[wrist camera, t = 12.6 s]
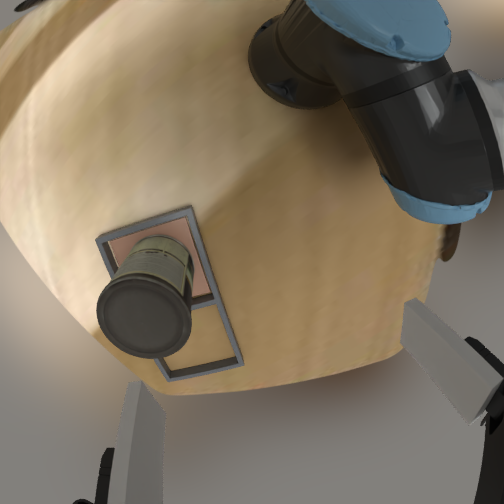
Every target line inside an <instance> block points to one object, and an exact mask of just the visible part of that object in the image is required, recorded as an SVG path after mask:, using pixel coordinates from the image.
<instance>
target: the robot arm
mask: <svg viewBox="0 0 504 504" xmlns="http://www.w3.org/2000/svg"><path fill="white" fill-rule="evenodd" d="M446 25H448V19H447V17H446V15H445V12H444V11H443V9H442V7H441V5H440V4H439V2H438V1H437V0H291V1H290V3H289V4H288V6H287V8H286V9H285V11H284V12H283V14H280V15H278V16H276V17H274V18H271V19H270V20H268V21H267V22H265V23H264V24H263V25H262V26H261V27H260V28H259V29H258V30H257V32H256V33H255V35H254V37H253V39H252V41H251V44H250V47H249V52H248V61H249V66H250V70H251V73H252V75H253V77H254V79H255V80H256V82H257V83H258V85H259V86H260V87H261V88H262V89H263V91H265V92H266V93H267V94H268V95H269V96H270V97H272V98H273V99H275V100H276V101H278V102H280V103H282V104H284V105H287V106H290V107H293V108H298V109H317V108H322V107H325V106H328V105H331V104H333V103H335V102H337V101H338V100H340V99H341V98H343V100H344V101H345V103H346V105H347V106H348V109H349V110H350V112H351V114H352V115H353V117H354V119H355V121H356V123H357V124H358V126H359V128H360V130H361V132H362V133H363V135H364V137H365V139H366V141H367V143H368V145H369V147H370V149H371V151H372V154H373V156H374V158H375V160H376V162H377V164H378V166H379V170H380V174H381V177H382V178H383V180H384V181H385V183H386V184H387V185H388V186H389V188H390V191H391V193H392V195H393V197H394V199H395V201H396V202H397V204H398V205H399V206H400V208H401V209H402V210H404V211H406V212H407V213H408V214H409V215H411V216H412V217H414V218H416V219H419V220H421V221H425V222H429V223H434V224H455V223H461V222H465V221H468V220H471V219H473V218H474V217H475V215H476V213H482V212H483V211H484V210H485V209H486V208H487V207H488V205H489V202H490V199H491V195H492V191H497V190H503V189H504V78H502V79H497V80H492V81H490V80H486V79H485V78H483V77H482V76H480V75H478V74H477V73H475V72H473V71H472V70H463V71H459V72H455V73H453V72H452V70H451V68H450V66H449V64H448V62H447V60H446V58H445V56H444V53H445V51H446V50H447V49H448V47H449V46H450V42H451V31H450V29H449V28H448V27H447V26H446ZM400 343H401V344H402V345H403V347H404V348H405V349H406V350H407V351H408V352H409V353H410V355H411V356H412V357H413V358H414V359H415V360H416V362H417V363H418V364H419V365H420V366H421V367H422V369H423V370H424V371H425V372H426V373H427V374H428V376H429V377H430V378H431V379H432V380H433V382H434V383H435V384H436V385H437V387H438V388H439V389H440V390H441V391H442V393H443V394H444V395H445V396H446V398H447V399H448V400H449V401H450V403H451V404H452V405H453V406H454V408H455V409H456V410H457V411H458V413H459V414H460V415H461V416H462V418H463V419H464V420H465V422H466V423H467V424H468V426H469V425H471V424H472V423H473V422H474V421H476V420H477V419H478V418H479V417H480V416H481V414H482V413H483V412H484V410H486V411H487V412H488V413H487V414H486V416H485V417H484V419H483V420H482V422H481V425H480V426H482V425H483V424H484V423H485V421H486V424H485V426H486V430H485V442H484V451H483V460H482V467H481V472H480V478H479V483H478V488H477V492H476V496H475V501H474V504H504V364H503V363H502V362H501V361H500V360H499V359H498V358H497V357H496V356H495V355H493V354H492V353H491V352H490V351H489V350H488V349H487V348H485V346H484V345H483V344H482V343H481V342H479V341H478V340H476V339H474V338H472V337H467V338H466V339H465V340H464V339H462V338H461V337H460V336H459V335H458V334H457V333H456V332H455V331H454V330H453V329H451V328H450V327H449V326H448V325H447V324H446V323H445V322H443V321H442V320H441V319H440V318H439V317H438V316H437V315H436V314H434V313H433V312H432V311H431V310H430V309H429V308H428V307H426V306H425V305H424V304H423V303H422V302H420V301H419V300H418V299H417V298H414V299H412V300H410V301H407V302H405V303H404V313H403V323H402V332H401V340H400ZM165 421H166V413H165V411H164V410H163V409H162V407H161V406H160V405H159V403H158V402H157V401H156V400H155V398H154V397H153V395H152V394H151V393H150V391H149V390H148V389H147V387H146V386H145V384H144V383H143V382H142V381H136V382H129V383H128V387H127V391H126V395H125V400H124V404H123V409H122V413H121V419H120V423H119V428H118V434H117V440H116V445H115V448H107V449H106V451H105V452H104V454H103V456H102V459H101V464H100V467H101V468H100V470H99V477H98V483H97V489H96V497H95V503H94V504H163V459H164V438H165V437H164V436H165ZM73 504H93V503H91V502H90V501H88V500H85V499H79V500H76V501H75V502H74V503H73Z"/></svg>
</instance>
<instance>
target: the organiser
mask: <svg viewBox="0 0 504 504" xmlns="http://www.w3.org/2000/svg"><path fill="white" fill-rule="evenodd" d="M184 216H187V217H188V221H189V224H190V227H191V230H192V233H193V236H194V240H195V243H196V246H197V249H198V252H199V255H200V258H201V261H202V264H203V267H204V270H205V273H206V276H207V279H208V281H209V284H210V287H211V290H212V294H208V295H204V296H201V297H197V298H193V299H192V305H191V310H195V309H199V308H202V307H206V306H210V305H214V304H217V307H218V310H219V312H220V315H221V318H222V321H223V323H224V326H225V329H226V331H227V334H228V337H229V339H230V342H231V345H232V347H233V350H234V352H235V355H236V357H232V358H228V359H224V360H220V361H216V362H212V363H207V364H203V365H198V366H194V367H189V368H184V369H179V370H174V371H170V369H169V367H168V366H167V364H166V362H165V361H164V359H163V358H157V359H154V361H155V362H156V364H157V366H158V367H159V369H160V371H161V372H162V374H163V375H164V377H165V379H166V380H167V382H171V381H177V380H182V379H187V378H192V377H197V376H202V375H207V374H211V373H216V372H220V371H224V370H228V369H232V368H236V367H240V366H244V360H243V357H242V354H241V351H240V348H239V346H238V343H237V340H236V338H235V335H234V332H233V329H232V326H231V324H230V321H229V318H228V315H227V312H226V309H225V306H224V304H223V301H222V298H221V295H220V292H219V289H218V286H217V283H216V280H215V277H214V274H213V271H212V268H211V265H210V262H209V259H208V256H207V252H206V249H205V246H204V243H203V240H202V237H201V233H200V230H199V227H198V224H197V220H196V217H195V214H194V210H193V207H192V205H191V206H187V207H184V208H181V209H177V210H174V211H171V212H168V213H164V214H161V215H158V216H155V217H152V218H149V219H146V220H143V221H140V222H137V223H134V224H131V225H128V226H125V227H122V228H119V229H116V230H113V231H111V232H108V233H105V234H102V235H100V236H99V237H97V238H96V239H95V241H96V243H97V246H98V248H99V251H100V253H101V256H102V258H103V261H104V263H105V265H106V268H107V270H108V272H109V274H110V277H111V279H112V278H113V276H114V275H115V273H116V272H117V270H118V267H117V265H116V262H115V260H114V257H113V255H112V252H111V250H110V247H109V245H108V242H107V241H109V240H111V241H110V244H111V247H112V249H113V252H114V254H115V257H116V259H117V262H118V264H119V266H121V264H122V263H123V261H124V260H125V259H126V257H127V256H128V254H129V253H130V251H131V249H132V247H133V246H134V245H135V244H136V243H137V242H138V241H139V240H140V239H142V238H144V237H147V236H150V235H155V234H161V235H168V236H171V237H173V238H175V239H177V240H179V241H180V242H182V243H183V244H184V245H185V246H186V247H187V248H188V250H189V251H190V253H191V255H192V258H193V260H194V266H195V272H194V278H193V291H192V297H193V296H197V295H201V294H204V293H208V292H210V289H209V286H208V283H207V280H206V277H205V274H204V271H203V269H202V266H201V263H200V260H199V257H198V254H197V251H196V248H195V245H194V242H193V238H192V235H191V232H190V229H189V226H188V223H187V220H186V217H184ZM181 217H183V218H181ZM177 218H179V219H177ZM174 219H176V220H174ZM171 220H173V221H171ZM167 221H170V222H167ZM164 222H166V223H164ZM161 223H163V224H161ZM158 224H160V225H158ZM155 225H157V226H155ZM152 226H154V227H152ZM148 227H151V228H148ZM145 228H147V229H145ZM142 229H144V230H142ZM139 230H141V231H139ZM136 231H138V232H136ZM133 232H135V233H133ZM130 233H132V234H130ZM127 234H129V235H127ZM124 235H126V236H124ZM121 236H123V237H121ZM118 237H120V238H118ZM115 238H117V239H115ZM112 239H114V240H112Z"/></svg>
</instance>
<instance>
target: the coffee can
mask: <svg viewBox="0 0 504 504" xmlns="http://www.w3.org/2000/svg"><path fill="white" fill-rule="evenodd" d="M194 272H195V266H194V260H193V258H192V255H191V253H190V251H189V250H188V248H187V247H186V246H185V245H184V244H183V243H182V242H180V241H179V240H177V239H175V238H173V237H171V236H168V235H161V234H155V235H150V236H147V237H144V238H142V239H140V240H139V241H138V242H137V243H136V244H135V245H134V246H133V247H132V249H131V251H130V253H129V254H128V256H127V257H126V259H125V260H124V261H123V263H122V264H121V266H120V267H119V269H118V270H117V272H116V273H115V275H114V276H113V278H112V279H111V281H110V283H109V284H108V285H107V286H106V287H105V288H104V290H103V291H102V293H101V294H100V296H99V299H98V302H97V310H96V311H97V319H98V323H99V325H100V328H101V330H102V331H103V333H104V335H105V336H106V337H107V338H108V339H109V341H110V342H112V343H113V344H114V345H115V346H116V347H117V348H119V349H120V350H122V351H124V352H125V353H128V354H130V355H133V356H136V357H140V358H147V359H157V358H163V357H167V356H169V355H172V354H174V353H175V352H177V351H178V350H180V349H181V348H182V347H183V346H184V345H185V343H186V342H187V340H188V338H189V336H190V333H191V327H192V319H191V305H192V291H193V278H194Z"/></svg>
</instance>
